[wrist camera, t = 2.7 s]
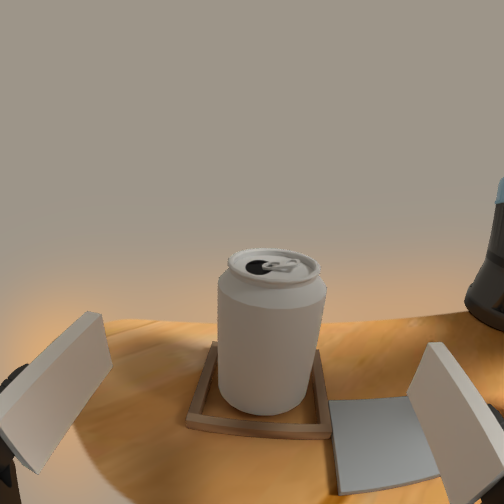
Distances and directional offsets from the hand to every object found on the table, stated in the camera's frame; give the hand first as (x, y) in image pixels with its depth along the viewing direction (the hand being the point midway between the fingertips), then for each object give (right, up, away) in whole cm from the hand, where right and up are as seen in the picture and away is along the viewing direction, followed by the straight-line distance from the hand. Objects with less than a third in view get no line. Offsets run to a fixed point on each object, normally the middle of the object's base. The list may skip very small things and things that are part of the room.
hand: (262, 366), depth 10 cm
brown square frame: (+1, -8, +13) cm, 15 cm away
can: (0, -8, +13) cm, 15 cm away
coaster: (+10, -10, +6) cm, 16 cm away
